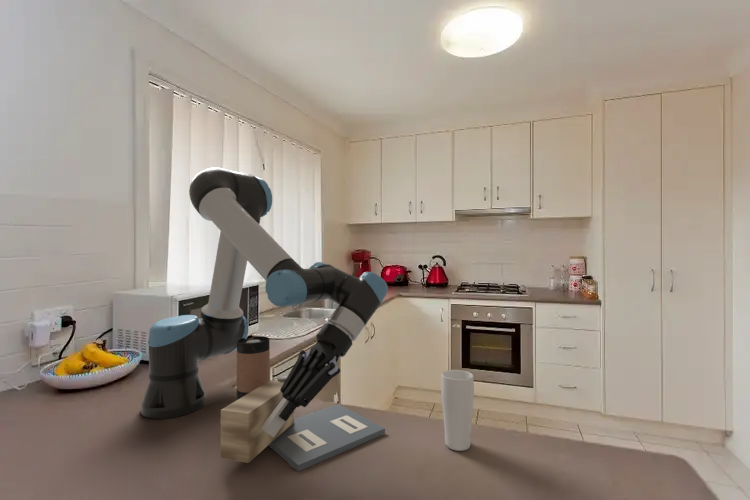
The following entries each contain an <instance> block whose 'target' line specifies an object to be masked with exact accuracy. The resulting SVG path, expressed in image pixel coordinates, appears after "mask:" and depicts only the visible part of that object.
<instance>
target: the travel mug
mask: <svg viewBox="0 0 750 500" xmlns="http://www.w3.org/2000/svg"><path fill="white" fill-rule="evenodd" d="M270 360H271V359H270V338H269V337H267V336H263V335H261V336H260V335H256V336H254V337H252V338H249V339H248V338H247V339H245V338H241V339H239V340H237V350H236V400H238V399H240V398H242V397H243V396H245V395H247V394H248V393H250V392H252V391H253V390H255V389H257V388H258V387H260V386H262V385H263V384H265V383H267V382H268V381H270V380H271V366H270V364H271V363H270Z"/></svg>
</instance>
